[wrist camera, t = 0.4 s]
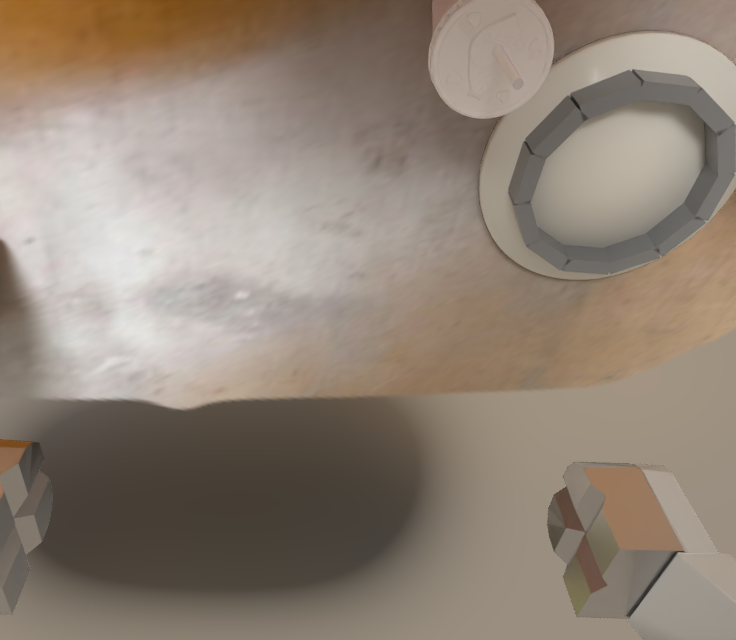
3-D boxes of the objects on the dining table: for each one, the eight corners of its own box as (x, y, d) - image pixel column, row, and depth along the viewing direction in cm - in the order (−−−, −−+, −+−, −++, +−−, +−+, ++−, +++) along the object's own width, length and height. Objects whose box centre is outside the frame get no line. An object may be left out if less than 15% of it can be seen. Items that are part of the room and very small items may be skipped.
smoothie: (532, -31, 37) (611, 51, 27) (482, 70, 41) (535, 175, 31) (436, -73, 36) (482, -3, 25) (394, 36, 40) (419, 136, 29)
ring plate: (522, 12, 39) (534, 27, 37) (807, 49, 42) (834, 65, 39) (452, 264, 52) (458, 286, 50) (671, 280, 55) (686, 302, 53)
